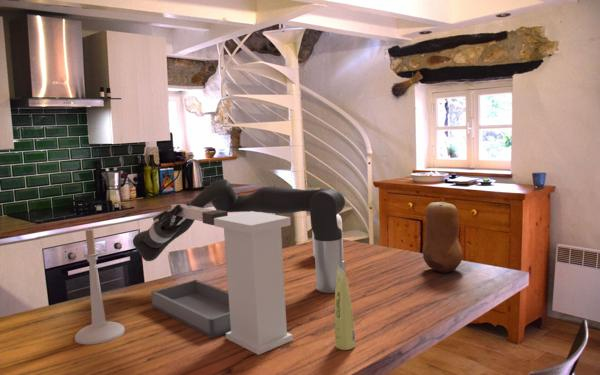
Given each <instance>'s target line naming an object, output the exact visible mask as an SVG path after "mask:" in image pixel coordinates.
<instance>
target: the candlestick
mask: <svg viewBox="0 0 600 375" xmlns="http://www.w3.org/2000/svg"><path fill="white" fill-rule="evenodd" d="M85 239H86V240H85V241H86V248H87V253H85V254H84V256H85V257H86V261H87V262H88V265H89V267H88V268H89V269H88V270H89V287H90V290H89V291H90V308H91V312H90V313H91V324H89V325H87V326H85V327H82V328H81V329H79V331H78V332H76V334H75V336H74V341H75V342H76V343H77V344H79V345H98V344H102V343H103V344H104V343H107V342H109V341H113V340H115V339H118V338H119V337H121V336H122V335H123V334H124V333H125V331H126V330H125V326H124V325H123V324H121V323H119V322H116V321H107V320H106V314H105V307H104V302H103V296H102V288H101V284H100V277H99V271H98V265H97V260H98V259H99V258H98V256H99V253H100V252H99V251H96V242H95V233H94V229H93V228H90V227H88V229H85Z"/></svg>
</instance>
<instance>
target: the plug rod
mask: <svg viewBox="0 0 600 375" xmlns="http://www.w3.org/2000/svg"><path fill="white" fill-rule="evenodd" d="M178 204H180V205H181V209H182V211H181V212H180V213H179V214H178V215H176V216H180V217H185V218H189V219H193V220H194V221H198V222H202V223H203V224H205V225H209V226H214V218H218V217H224V216H229V215H228V214H229V212H227V211H222V210H216V209H209V208H205V207H203V208H200V207H195V206H189V205H186V204H184V203H176V204H170V205H171V206H170V207H171V208H170V210H171V209H173V208H174V207H176V205H178Z"/></svg>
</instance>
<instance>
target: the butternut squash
mask: <svg viewBox="0 0 600 375" xmlns="http://www.w3.org/2000/svg"><path fill="white" fill-rule="evenodd" d="M425 221H426V222H425V223H426V225H425V239H424V243H423V246H422V257H423V260H424V262H425V264H426V265H427V267H429V268H430V269H432V270H435V271H437V272H438V273H443V274H447V273H449V272H453V271H455V270H457V268H458V267H460V264H461V262H462V261H463V250H462V247H461V244H460V241H459V239H458V233H459V228H460V227H459V226H460V223H459V222H460V221H459V212H458V208H457V207H456V206H455V205H454V204H452V203H448V202H444V201H437V202H430V203H429V204H428V205H427V206H426V210H425Z"/></svg>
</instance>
